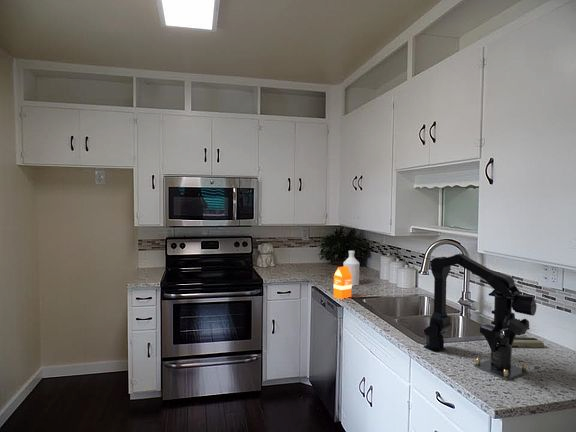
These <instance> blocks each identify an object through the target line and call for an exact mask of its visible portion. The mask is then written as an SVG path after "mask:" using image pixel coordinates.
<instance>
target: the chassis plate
mask: <svg viewBox="0 0 576 432" xmlns="http://www.w3.org/2000/svg"><path fill="white" fill-rule="evenodd" d="M527 365H528V364H527V363H525V362H522V363H521V367H520V366H517V365H514V364H512V363H511V369H510V370H509V371H508V370H507V369H504V371H501V370H497V369H494V368H493V367H492V366H491V358H490V359H487V360H483V361H481V358H480V357H476V359H475V364H473V366H474V367H475V368H476V369H480V370H482V371H484V372H486V373H489V374H490V375H493V376H494V377H497V378H499V379H502V380H504V381H506V382H507V381H510V380H513V379H515V378H518V377H521V376H524V375H527V374H529V370H528V369H527Z"/></svg>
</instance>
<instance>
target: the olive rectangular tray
mask: <svg viewBox="0 0 576 432" xmlns="http://www.w3.org/2000/svg"><path fill="white" fill-rule="evenodd" d="M511 347H512V348H518V349H521V348H523V349H536V348H537V349H545V344H544V342H543V341H542V340H540V339H538V338H534V337H527V336H526V337H524V336H523V337H519V336H518V337H517V336H516V337H515V339H514V341H513V344H512V346H511Z"/></svg>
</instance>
